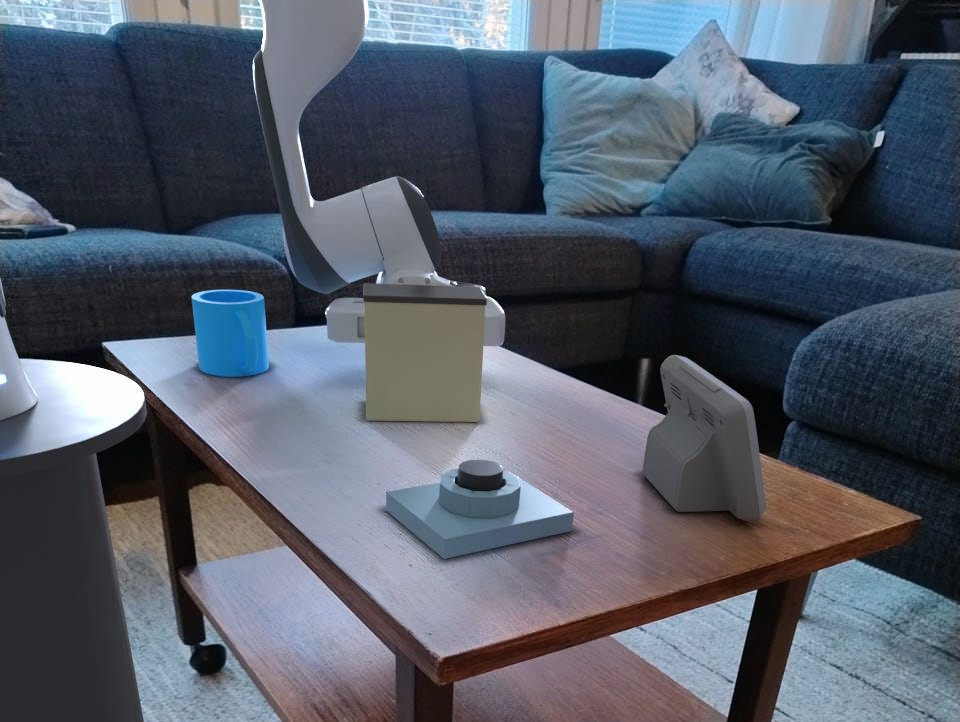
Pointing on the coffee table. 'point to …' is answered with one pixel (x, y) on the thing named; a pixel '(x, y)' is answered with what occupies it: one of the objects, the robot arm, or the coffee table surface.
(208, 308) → the mug
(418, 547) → the coffee table surface
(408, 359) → the box
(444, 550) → the box
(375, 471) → the coffee table surface
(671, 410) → the digital clock
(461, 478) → the timer button
